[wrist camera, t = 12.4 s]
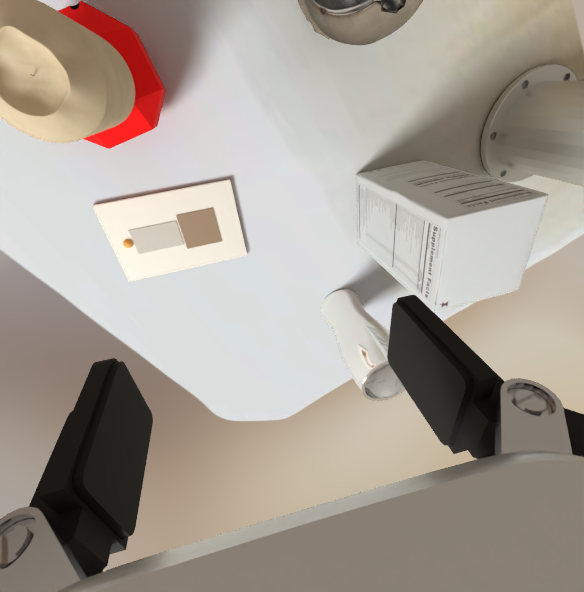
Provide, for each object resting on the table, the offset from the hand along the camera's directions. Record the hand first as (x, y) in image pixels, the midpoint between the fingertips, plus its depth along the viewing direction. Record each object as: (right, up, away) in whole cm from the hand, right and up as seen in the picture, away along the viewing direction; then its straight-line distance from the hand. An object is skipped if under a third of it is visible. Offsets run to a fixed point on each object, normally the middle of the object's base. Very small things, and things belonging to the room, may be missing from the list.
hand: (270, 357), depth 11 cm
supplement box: (+13, +14, +29) cm, 35 cm away
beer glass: (+8, +1, +36) cm, 37 cm away
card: (-12, +9, +24) cm, 29 cm away
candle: (-13, +17, +10) cm, 23 cm away
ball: (-15, +21, +17) cm, 30 cm away
